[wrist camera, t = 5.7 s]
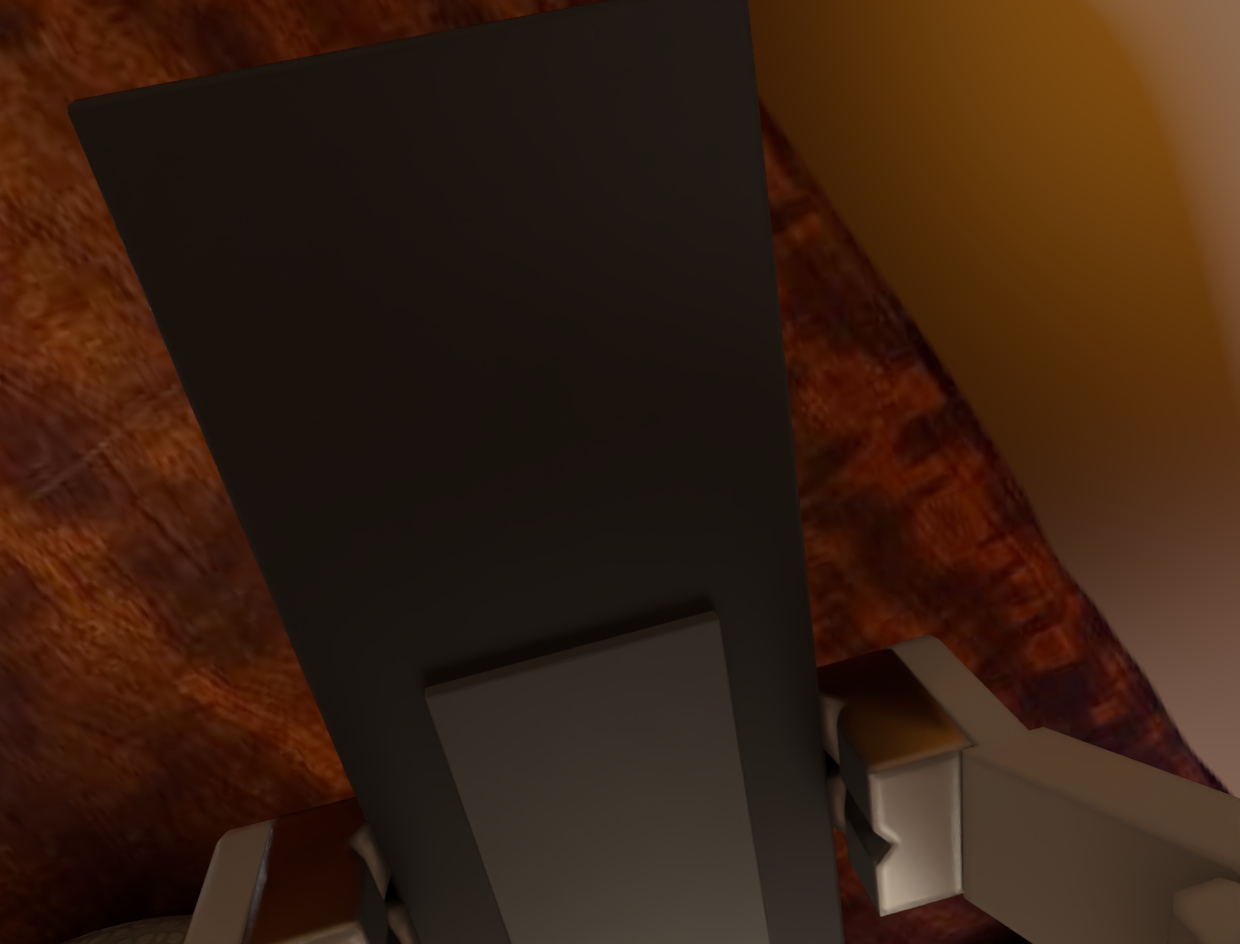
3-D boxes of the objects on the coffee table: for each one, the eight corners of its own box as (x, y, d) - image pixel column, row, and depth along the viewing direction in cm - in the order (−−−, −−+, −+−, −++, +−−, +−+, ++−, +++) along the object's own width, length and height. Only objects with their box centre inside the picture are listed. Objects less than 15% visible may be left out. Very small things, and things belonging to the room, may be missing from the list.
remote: (177, 111, 7) (39, 99, 5) (663, 18, 8) (762, -34, 5) (533, 1074, 13) (553, 1290, 10) (799, 988, 13) (876, 1177, 11)
